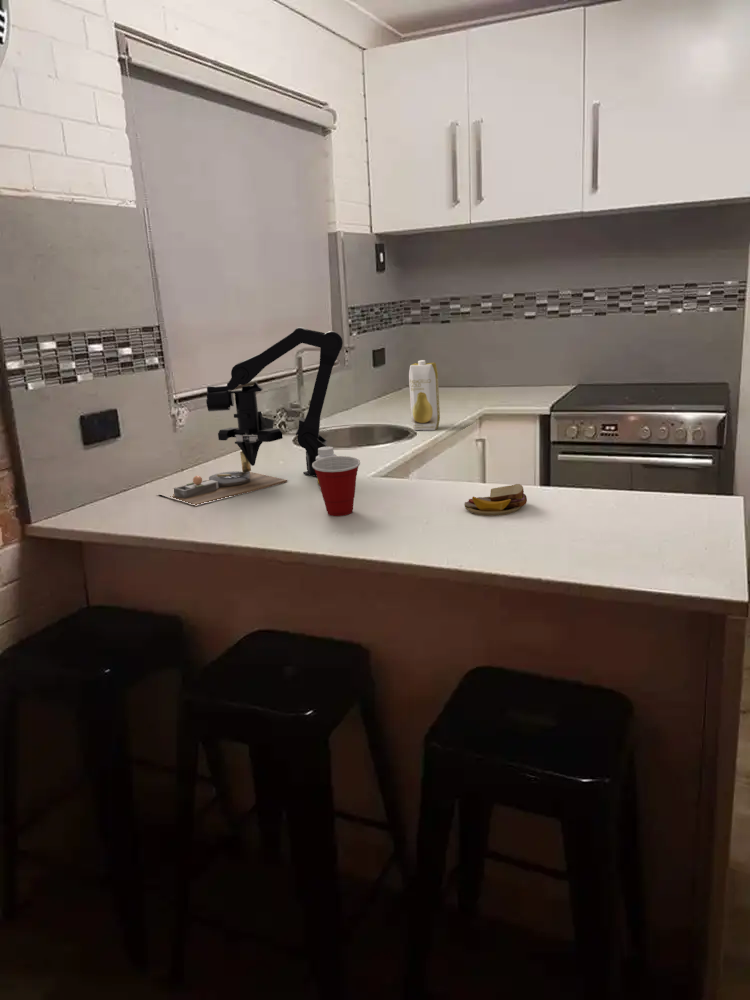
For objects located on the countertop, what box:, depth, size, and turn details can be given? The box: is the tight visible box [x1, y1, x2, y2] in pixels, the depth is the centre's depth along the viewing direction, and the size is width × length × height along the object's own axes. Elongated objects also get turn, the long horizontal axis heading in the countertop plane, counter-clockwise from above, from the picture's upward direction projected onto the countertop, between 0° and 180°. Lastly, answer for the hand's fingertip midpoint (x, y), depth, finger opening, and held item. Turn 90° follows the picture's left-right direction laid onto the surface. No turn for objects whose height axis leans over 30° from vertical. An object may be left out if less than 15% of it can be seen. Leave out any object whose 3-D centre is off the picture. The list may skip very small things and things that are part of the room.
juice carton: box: [408, 359, 441, 431], centre depth 262 cm, size 9×8×24 cm
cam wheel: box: [208, 450, 252, 487], centre depth 204 cm, size 12×12×7 cm
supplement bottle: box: [316, 446, 337, 488], centre depth 194 cm, size 6×6×10 cm
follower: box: [184, 475, 219, 490], centre depth 197 cm, size 3×8×4 cm, turn 133°
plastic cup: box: [312, 455, 361, 517], centre depth 169 cm, size 11×11×12 cm
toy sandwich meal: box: [464, 483, 528, 517], centre depth 165 cm, size 12×14×5 cm
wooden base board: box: [170, 471, 288, 505], centre depth 201 cm, size 20×28×3 cm
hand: (252, 465), depth 208 cm, fingers closed
